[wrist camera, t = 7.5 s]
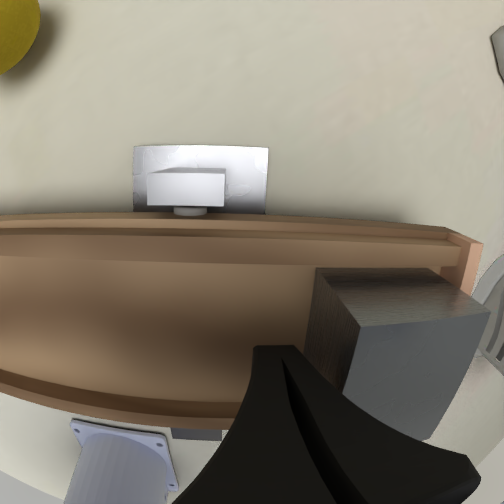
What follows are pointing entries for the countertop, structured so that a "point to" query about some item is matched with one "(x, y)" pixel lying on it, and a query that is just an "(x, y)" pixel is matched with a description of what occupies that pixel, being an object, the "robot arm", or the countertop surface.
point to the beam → (178, 302)
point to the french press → (492, 314)
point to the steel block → (393, 341)
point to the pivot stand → (200, 193)
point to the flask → (499, 48)
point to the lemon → (17, 30)
